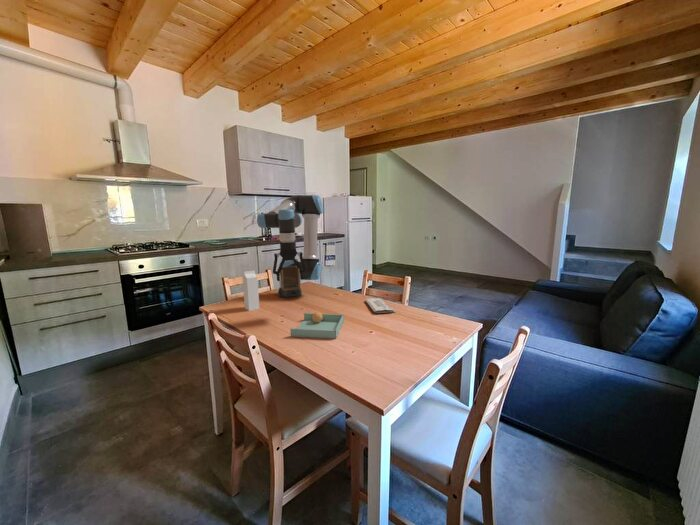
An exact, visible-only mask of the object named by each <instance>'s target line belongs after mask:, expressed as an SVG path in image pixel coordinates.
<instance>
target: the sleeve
mask: <svg viewBox="0 0 700 525" xmlns="http://www.w3.org/2000/svg"><path fill="white" fill-rule="evenodd" d="M279 274H281V285H282V290H283V291H286V290H296V289H300V288H301V286H300V281H301V280H300V269H299V268H297V266H290V267H282V269H281V271H280V273H279ZM292 285H297V287H289V288H284V286H292Z"/></svg>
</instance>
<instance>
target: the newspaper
mask: <svg viewBox="0 0 700 525" xmlns="http://www.w3.org/2000/svg"><path fill="white" fill-rule="evenodd" d="M364 301H365V303H367V305H368V306H369V307H370V308H371V310H372V311H373V312H374V313H375V314H383V313H386V314H387V313H393V312H396V310H395V309H394V308H393V307H392V308H391V306H390V305H389V304H388V303H386V302H385V301H384V300H383V299H382V298H380V297H379V298H378V297H377V298H375V297H374V298H365V299H364ZM387 304H388V305H389V306H390V307H389V306H388V305H387Z"/></svg>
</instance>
